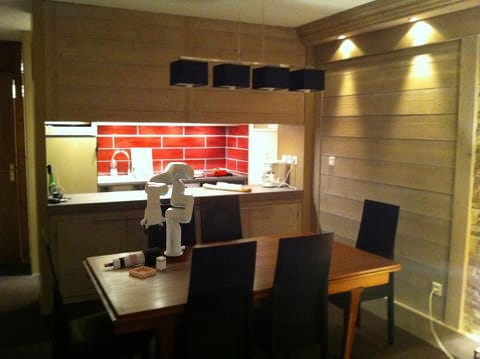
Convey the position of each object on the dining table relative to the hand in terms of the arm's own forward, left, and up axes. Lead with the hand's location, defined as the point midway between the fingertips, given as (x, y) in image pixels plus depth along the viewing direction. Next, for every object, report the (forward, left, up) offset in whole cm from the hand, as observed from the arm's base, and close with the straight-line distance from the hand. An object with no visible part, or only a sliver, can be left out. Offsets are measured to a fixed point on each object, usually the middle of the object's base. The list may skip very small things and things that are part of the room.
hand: (153, 233), depth 270 cm
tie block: (-3, +3, -22) cm, 23 cm away
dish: (+11, +2, -22) cm, 25 cm away
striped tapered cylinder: (+4, -13, -23) cm, 26 cm away
